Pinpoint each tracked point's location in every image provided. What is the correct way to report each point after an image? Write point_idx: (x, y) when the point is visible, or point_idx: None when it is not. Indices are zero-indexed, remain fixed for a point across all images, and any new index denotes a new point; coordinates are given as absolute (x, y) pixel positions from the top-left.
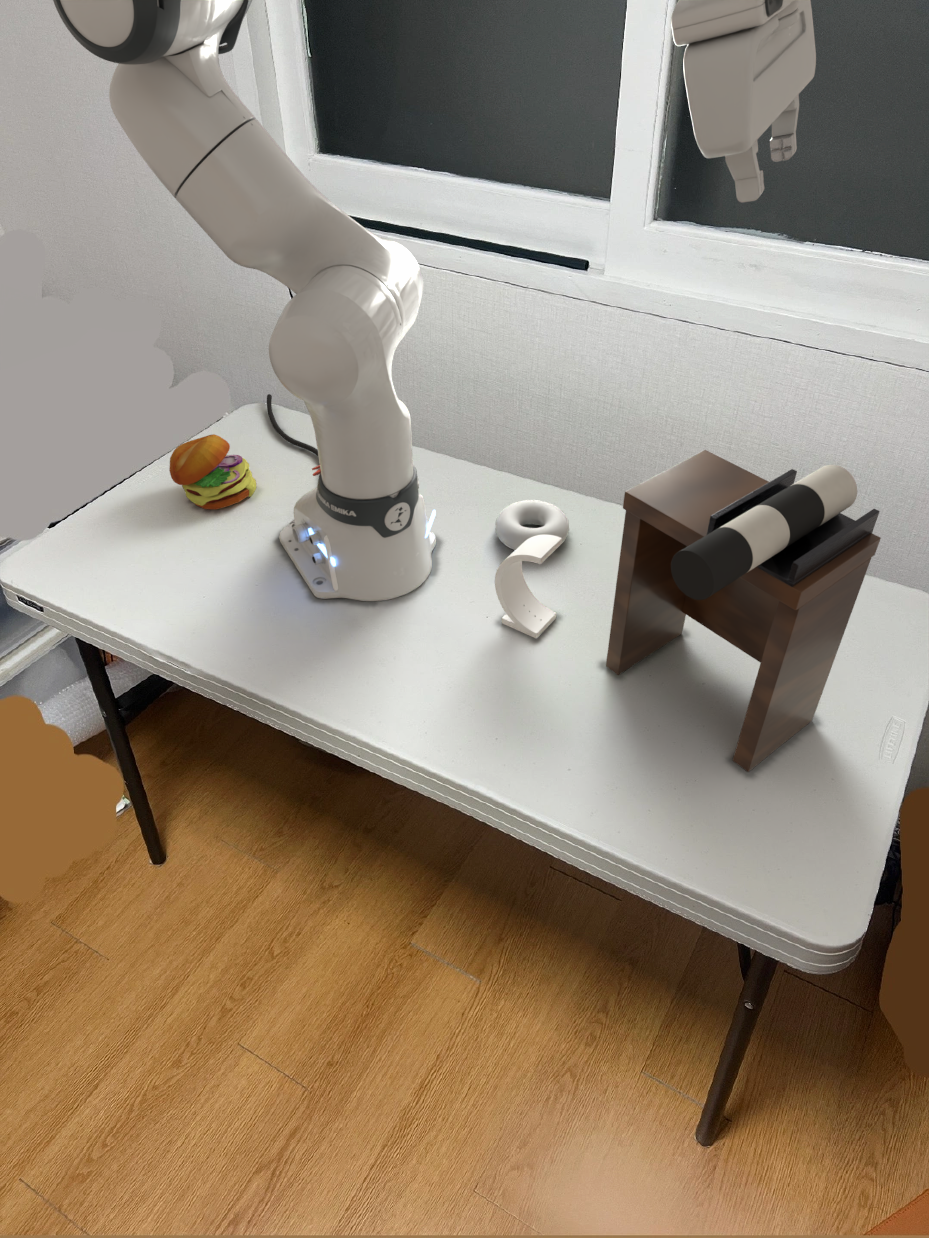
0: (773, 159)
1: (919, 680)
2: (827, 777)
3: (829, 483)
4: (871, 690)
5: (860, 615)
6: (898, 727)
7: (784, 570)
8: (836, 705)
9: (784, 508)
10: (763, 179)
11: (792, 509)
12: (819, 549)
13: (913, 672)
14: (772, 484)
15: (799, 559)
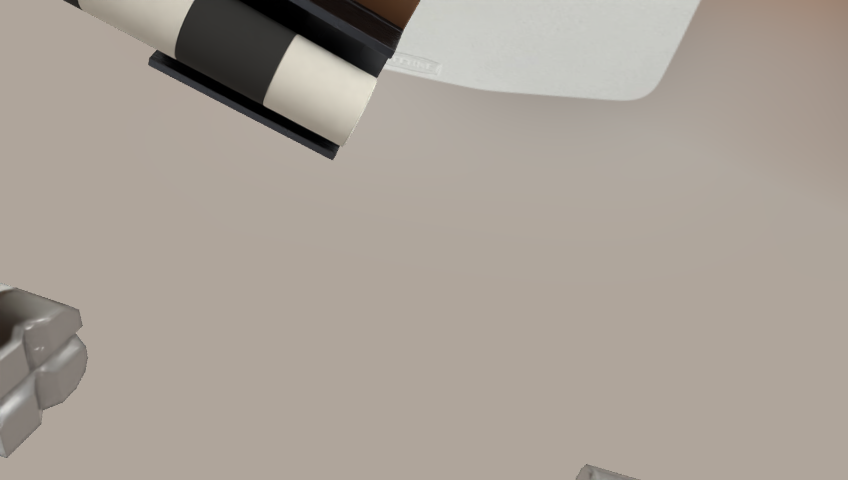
0: (587, 474)
1: (504, 91)
2: None
3: (296, 118)
4: (472, 46)
5: (608, 38)
6: (426, 68)
7: None
8: (436, 10)
9: (186, 58)
10: (39, 422)
11: (198, 68)
12: (198, 89)
13: (515, 87)
14: (329, 21)
15: (159, 65)
